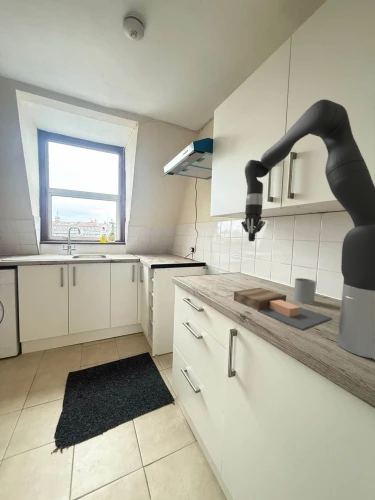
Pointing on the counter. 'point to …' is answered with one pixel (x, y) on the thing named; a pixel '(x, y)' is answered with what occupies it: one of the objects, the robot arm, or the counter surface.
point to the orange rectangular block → (285, 308)
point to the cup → (304, 290)
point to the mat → (297, 318)
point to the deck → (257, 297)
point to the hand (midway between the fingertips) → (251, 241)
